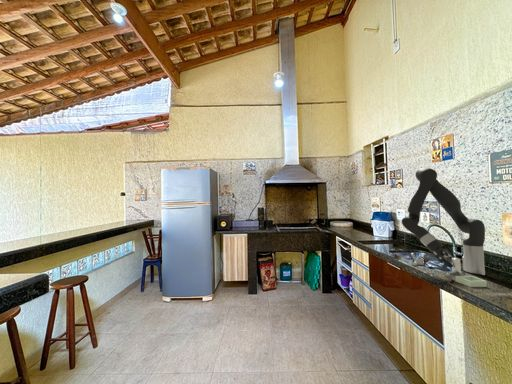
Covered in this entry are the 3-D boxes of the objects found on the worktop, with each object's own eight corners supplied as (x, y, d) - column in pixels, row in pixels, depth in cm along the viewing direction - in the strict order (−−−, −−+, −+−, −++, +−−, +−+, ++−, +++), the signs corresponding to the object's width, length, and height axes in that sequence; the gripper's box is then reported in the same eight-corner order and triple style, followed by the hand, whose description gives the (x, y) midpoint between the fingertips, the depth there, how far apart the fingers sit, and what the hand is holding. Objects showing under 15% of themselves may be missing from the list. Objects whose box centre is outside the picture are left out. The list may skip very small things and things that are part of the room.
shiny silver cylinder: (449, 277, 133) (448, 257, 134) (457, 277, 133) (456, 257, 134) (456, 279, 129) (455, 259, 129) (464, 279, 129) (463, 259, 129)
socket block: (445, 278, 135) (444, 272, 135) (457, 278, 135) (457, 272, 135) (456, 283, 127) (455, 277, 127) (469, 282, 127) (469, 276, 127)
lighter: (422, 264, 165) (421, 252, 165) (423, 264, 163) (422, 253, 164) (411, 263, 166) (410, 252, 167) (412, 264, 165) (411, 253, 165)
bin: (455, 283, 127) (455, 275, 127) (471, 283, 127) (471, 275, 127) (470, 289, 118) (469, 281, 118) (487, 289, 118) (486, 281, 118)
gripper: (430, 239, 136) (455, 264, 126) (441, 237, 143) (466, 260, 133) (420, 247, 140) (444, 271, 130) (432, 245, 148) (455, 267, 137)
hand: (455, 266), depth 131 cm, fingers open, 8 cm apart
